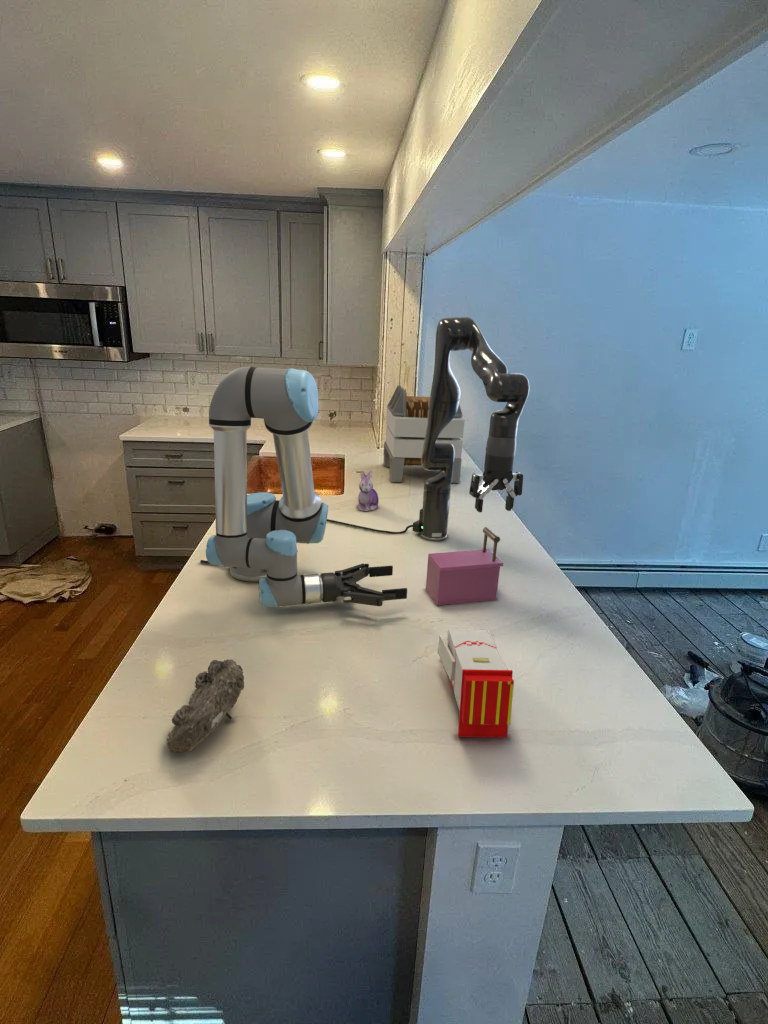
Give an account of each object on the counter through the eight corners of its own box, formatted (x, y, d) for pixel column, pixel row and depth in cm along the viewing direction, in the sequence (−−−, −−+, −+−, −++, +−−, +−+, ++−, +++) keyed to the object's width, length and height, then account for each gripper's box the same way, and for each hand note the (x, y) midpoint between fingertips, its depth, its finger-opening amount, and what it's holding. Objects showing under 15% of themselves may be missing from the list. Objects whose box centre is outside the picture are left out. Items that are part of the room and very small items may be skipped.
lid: (488, 552, 162) (491, 525, 160) (503, 566, 154) (506, 537, 151) (428, 557, 158) (430, 528, 155) (440, 571, 149) (442, 542, 146)
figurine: (362, 513, 218) (363, 475, 213) (351, 505, 226) (352, 468, 221) (384, 510, 222) (385, 473, 217) (372, 502, 230) (374, 466, 225)
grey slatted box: (382, 463, 289) (386, 382, 275) (445, 464, 293) (451, 384, 279) (390, 482, 257) (394, 392, 243) (460, 483, 261) (468, 394, 247)
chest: (481, 584, 166) (485, 552, 162) (496, 599, 157) (500, 566, 154) (425, 589, 161) (428, 557, 158) (437, 605, 153) (439, 571, 149)
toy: (488, 613, 130) (523, 677, 101) (484, 667, 133) (517, 744, 104) (435, 612, 130) (455, 676, 101) (432, 666, 133) (451, 743, 103)
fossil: (192, 660, 117) (244, 628, 112) (224, 691, 120) (276, 661, 115) (142, 746, 98) (202, 712, 93) (182, 779, 101) (242, 748, 96)
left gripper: (313, 579, 159) (386, 573, 165) (328, 625, 136) (412, 617, 142) (313, 555, 157) (387, 550, 162) (328, 597, 134) (414, 590, 139)
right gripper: (481, 456, 142) (475, 517, 147) (532, 455, 146) (524, 514, 151) (469, 449, 149) (463, 507, 154) (518, 448, 152) (511, 505, 158)
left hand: (399, 581), depth 152 cm, fingers open, 13 cm apart
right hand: (493, 510), depth 153 cm, fingers open, 8 cm apart
